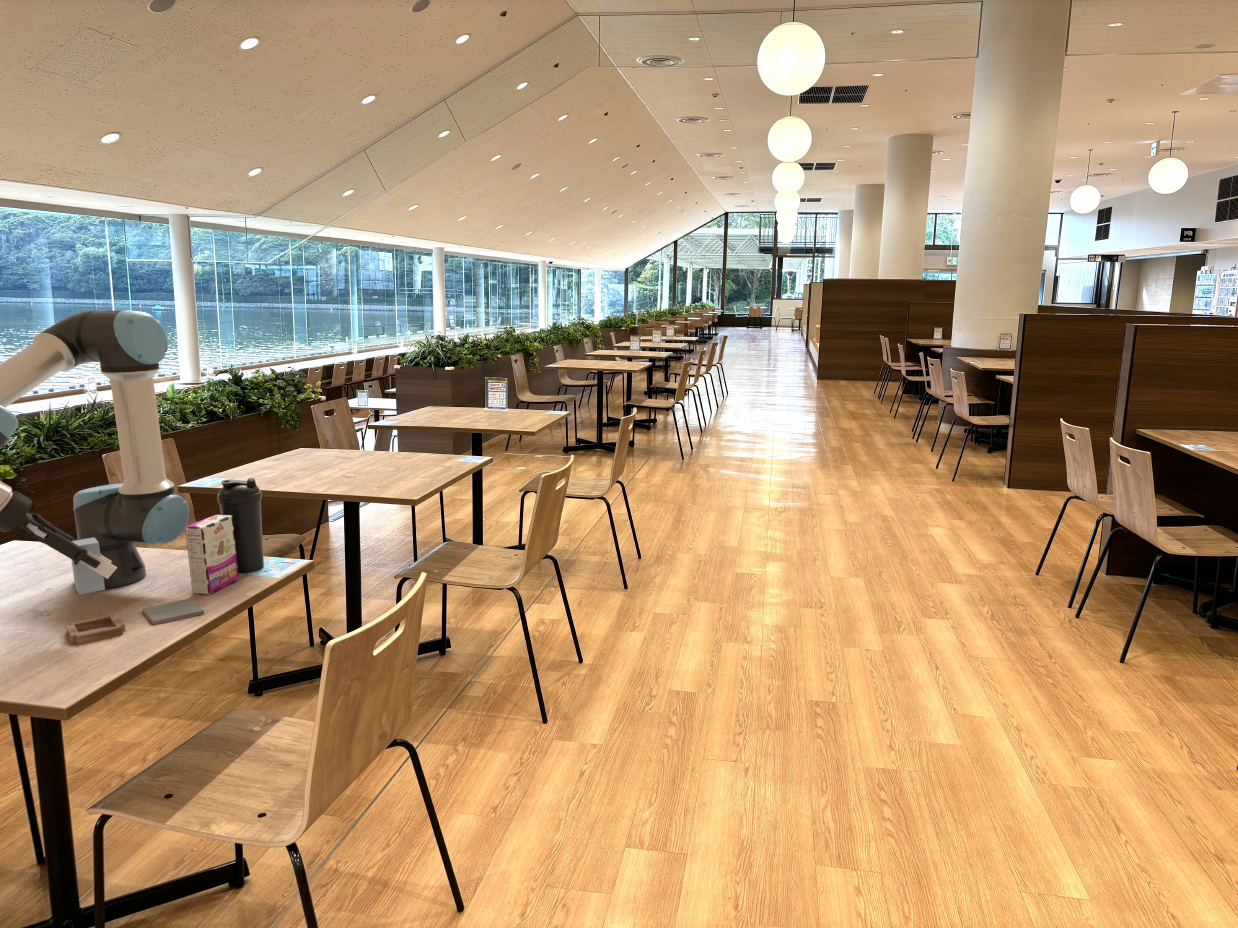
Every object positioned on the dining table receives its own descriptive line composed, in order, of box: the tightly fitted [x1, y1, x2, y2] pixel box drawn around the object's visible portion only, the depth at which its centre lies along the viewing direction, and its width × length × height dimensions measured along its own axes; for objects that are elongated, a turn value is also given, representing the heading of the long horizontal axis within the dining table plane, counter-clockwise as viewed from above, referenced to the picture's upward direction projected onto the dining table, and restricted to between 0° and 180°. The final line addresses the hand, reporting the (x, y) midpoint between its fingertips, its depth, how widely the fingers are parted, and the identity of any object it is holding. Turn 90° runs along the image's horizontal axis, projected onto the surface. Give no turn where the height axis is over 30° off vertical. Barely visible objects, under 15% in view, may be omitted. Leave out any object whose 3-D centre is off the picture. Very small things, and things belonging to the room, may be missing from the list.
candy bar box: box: [184, 514, 240, 595], centre depth 203 cm, size 11×5×16 cm, turn 168°
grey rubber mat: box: [141, 597, 205, 625], centre depth 188 cm, size 10×10×1 cm
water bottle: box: [216, 477, 265, 575], centre depth 216 cm, size 10×10×23 cm
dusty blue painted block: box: [70, 537, 106, 595], centre depth 174 cm, size 4×4×10 cm
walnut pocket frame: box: [65, 614, 126, 645], centre depth 177 cm, size 10×10×2 cm
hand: (109, 569), depth 177 cm, fingers closed on dusty blue painted block, 4 cm apart
